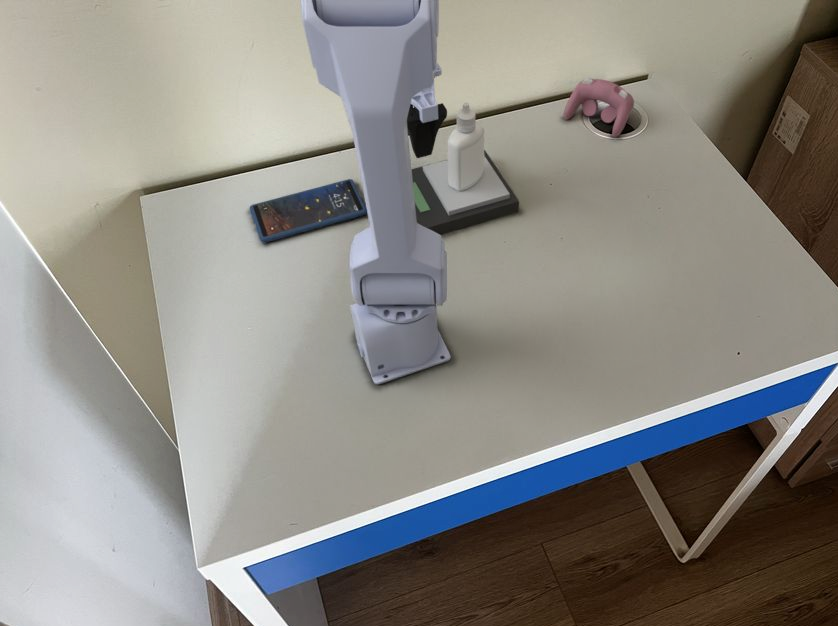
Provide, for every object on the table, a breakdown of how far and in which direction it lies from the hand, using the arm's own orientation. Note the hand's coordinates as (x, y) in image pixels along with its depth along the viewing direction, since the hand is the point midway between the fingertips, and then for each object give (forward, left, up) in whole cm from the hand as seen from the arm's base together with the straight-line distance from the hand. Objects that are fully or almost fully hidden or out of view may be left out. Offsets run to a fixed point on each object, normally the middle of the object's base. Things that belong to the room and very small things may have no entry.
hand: (413, 137), depth 91 cm
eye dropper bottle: (+7, -2, -8) cm, 10 cm away
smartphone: (-15, +3, -10) cm, 18 cm away
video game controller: (+32, +6, -11) cm, 34 cm away
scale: (+5, -2, -10) cm, 12 cm away
